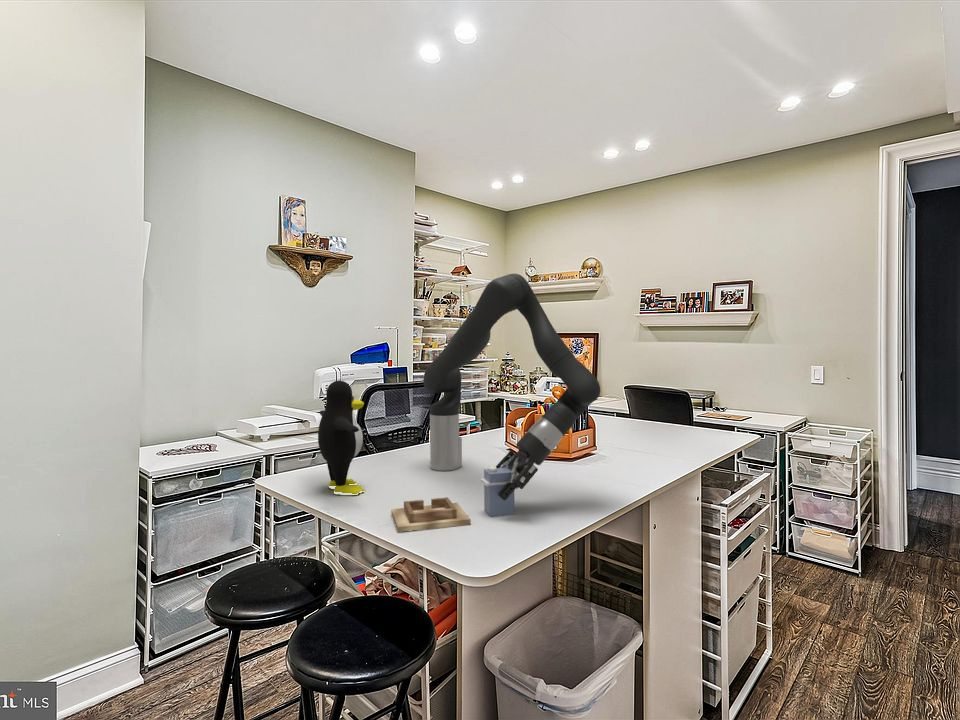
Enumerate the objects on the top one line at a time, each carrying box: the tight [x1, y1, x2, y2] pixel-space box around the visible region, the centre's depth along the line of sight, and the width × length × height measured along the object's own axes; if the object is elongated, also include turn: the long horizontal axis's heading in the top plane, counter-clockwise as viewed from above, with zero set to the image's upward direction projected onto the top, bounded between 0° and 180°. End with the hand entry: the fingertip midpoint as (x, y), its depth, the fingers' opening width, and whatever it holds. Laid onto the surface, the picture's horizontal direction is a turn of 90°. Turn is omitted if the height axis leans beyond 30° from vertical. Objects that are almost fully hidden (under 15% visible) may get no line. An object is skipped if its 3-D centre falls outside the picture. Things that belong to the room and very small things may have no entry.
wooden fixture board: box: [390, 497, 472, 533], centre depth 116 cm, size 16×12×3 cm
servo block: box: [480, 465, 515, 518], centre depth 120 cm, size 8×4×11 cm, turn 106°
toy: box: [317, 380, 365, 494], centre depth 139 cm, size 37×12×30 cm, turn 30°
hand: (495, 492), depth 120 cm, fingers open, 8 cm apart
